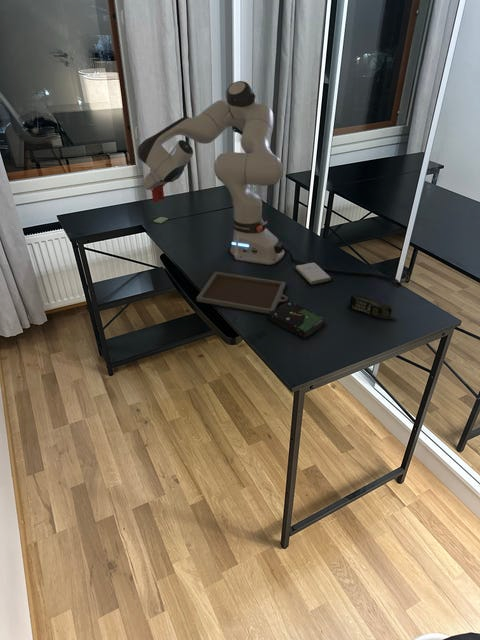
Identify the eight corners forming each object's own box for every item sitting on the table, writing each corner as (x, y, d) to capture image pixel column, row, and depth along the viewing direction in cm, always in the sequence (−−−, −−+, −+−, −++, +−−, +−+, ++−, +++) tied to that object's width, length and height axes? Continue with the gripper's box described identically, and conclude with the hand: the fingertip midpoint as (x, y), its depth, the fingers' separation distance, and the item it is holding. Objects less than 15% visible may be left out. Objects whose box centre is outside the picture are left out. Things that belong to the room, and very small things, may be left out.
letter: (164, 199, 200) (162, 177, 194) (156, 202, 197) (154, 180, 191) (160, 197, 202) (158, 176, 196) (152, 200, 199) (150, 179, 193)
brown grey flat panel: (214, 271, 162) (293, 283, 155) (214, 274, 163) (292, 287, 156) (195, 297, 148) (281, 312, 140) (196, 301, 148) (281, 316, 141)
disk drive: (268, 320, 140) (305, 339, 132) (268, 313, 138) (306, 331, 130) (287, 307, 146) (324, 324, 138) (288, 300, 145) (325, 317, 136)
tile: (168, 218, 206) (168, 218, 206) (160, 223, 202) (160, 223, 202) (160, 216, 208) (160, 216, 208) (152, 221, 204) (152, 221, 204)
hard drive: (310, 285, 157) (295, 269, 167) (330, 280, 160) (314, 265, 169) (311, 281, 156) (295, 265, 166) (331, 277, 159) (314, 261, 168)
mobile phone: (349, 296, 142) (395, 310, 135) (353, 292, 144) (398, 305, 137) (348, 309, 145) (392, 323, 138) (351, 305, 147) (395, 318, 140)
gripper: (182, 157, 192) (168, 175, 203) (147, 169, 179) (135, 187, 190) (190, 169, 193) (176, 186, 203) (156, 181, 179) (143, 199, 190)
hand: (156, 187), depth 196 cm, fingers closed on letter, 5 cm apart
